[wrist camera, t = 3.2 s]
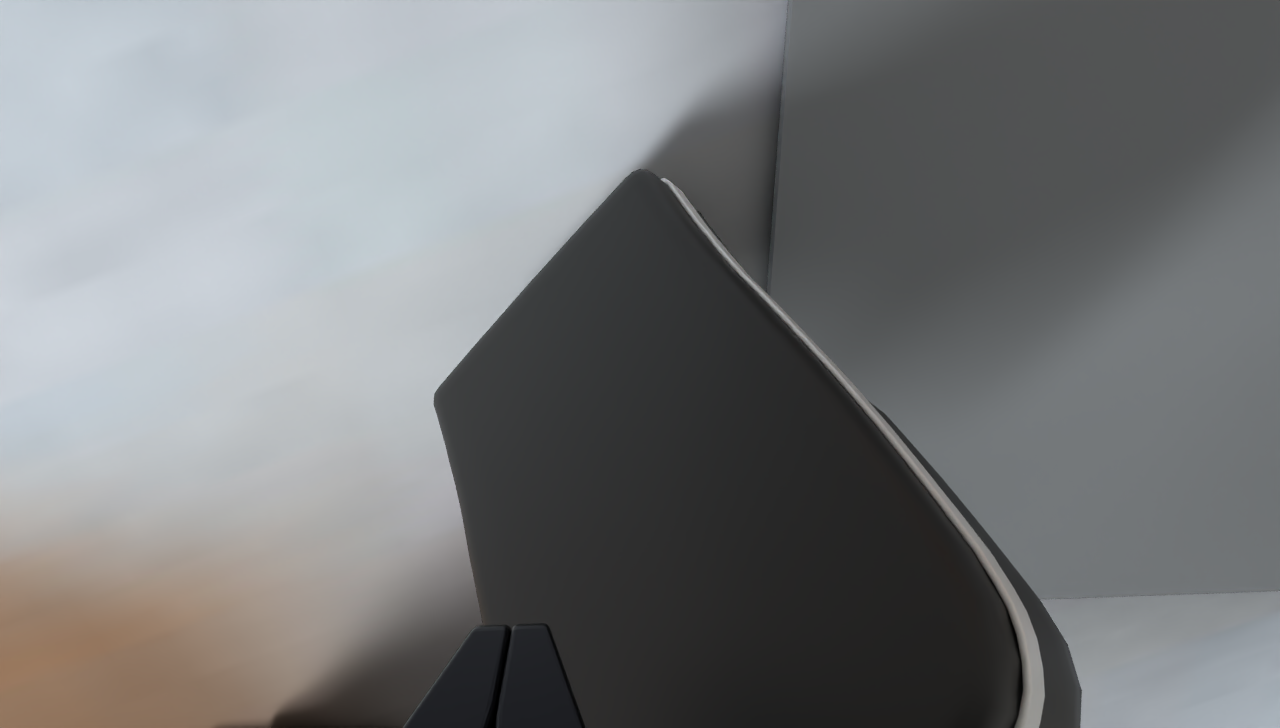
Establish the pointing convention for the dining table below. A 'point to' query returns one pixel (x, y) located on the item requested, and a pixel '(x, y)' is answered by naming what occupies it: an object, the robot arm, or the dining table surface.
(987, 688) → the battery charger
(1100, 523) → the mat
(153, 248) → the dining table surface
